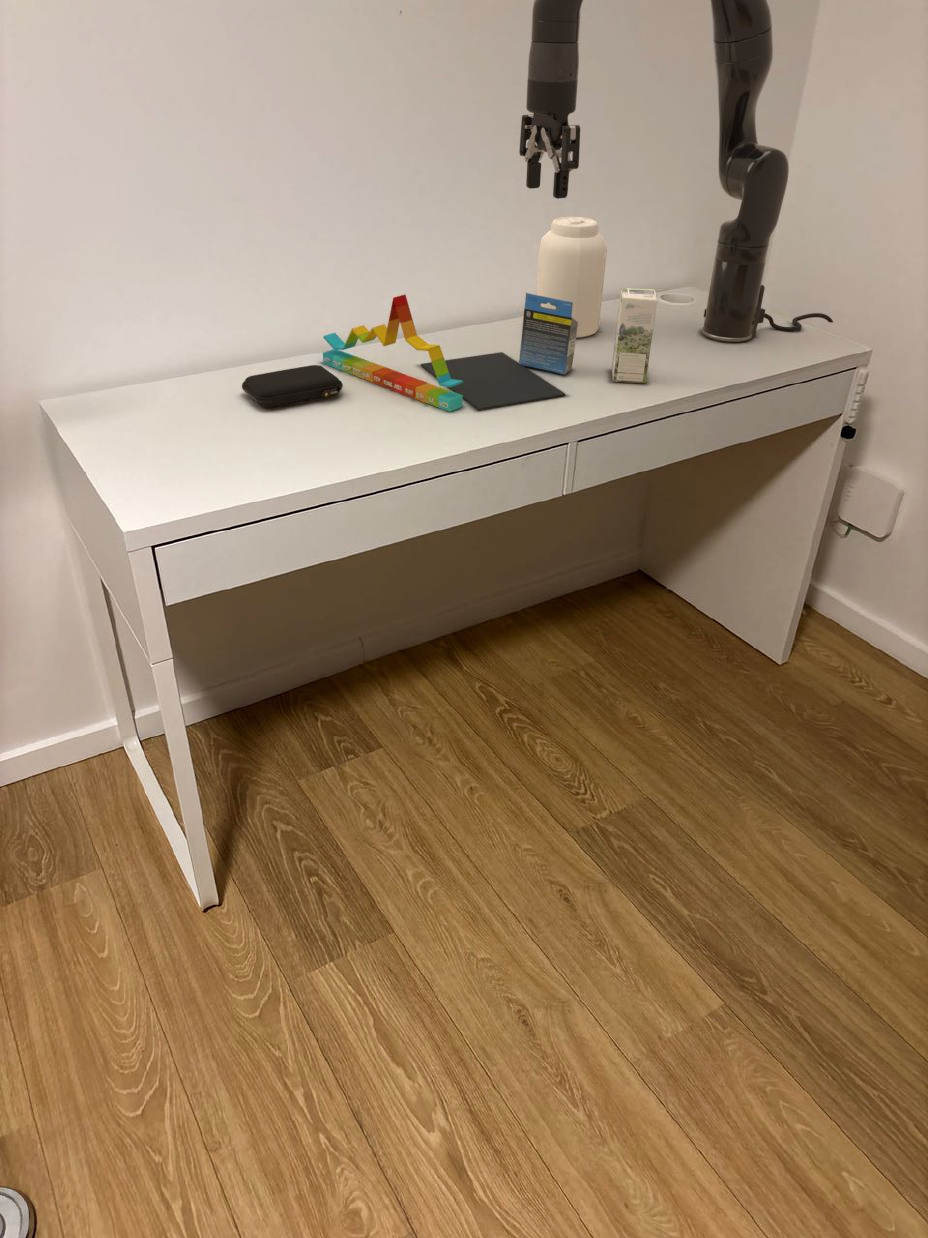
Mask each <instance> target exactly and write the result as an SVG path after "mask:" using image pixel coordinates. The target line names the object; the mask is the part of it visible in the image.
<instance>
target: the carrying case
mask: <svg viewBox="0 0 928 1238" xmlns="http://www.w3.org/2000/svg"><path fill="white" fill-rule="evenodd" d="M343 387H344V383H343V381H342V380H340V378H338V377H337V376H336V375H334V373H332V372H330V371H329V370H328V369H326V368H325V367H323V366H321V365H319V364H311V365H306V366H305V365H304V366H300V367H293V368H292V367H291V368H286V369H282V370H275V371H270V372H264V373H258V374H253V375H249V376H248V377H246V378H245V379H244V381H243V382H242V384H241V389H242V391H243V392H244V393H245V394H247V395H248V396H249V397H250V398H251V399H252V400H253V401H255V402H256V403H257V404H258V405H259V406H261V407H263V408H265V409H272V408H278V407H284V406H289V405H295V404H299V403H306V402H311V401H315V400H321V399H325V398H330V397H335V396H337V395H339V394H340V391H342V390H343Z"/></svg>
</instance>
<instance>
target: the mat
mask: <svg viewBox="0 0 928 1238" xmlns="http://www.w3.org/2000/svg"><path fill="white" fill-rule="evenodd" d="M444 360H445V363H446V366H447V369H448V372H449V374H450V377H451V379H454V380H461V381H463V383H461V384H459V385H456V386H453V387H448V388H449V389H450V391H452V392H455V393H458V394H460V395H463V401H465V402H466V403H468V404H469V405H470V406H471V407H473V408H474V409H476V410H477V411H484V410H485V411H486V410H491V409H496V408H503V407H508V406H514V405H521V404H527V403H532V402H538V401H543V400H549V399H555V398H562V397H566V393H565V392H564V391H562V390H561V389H559V388H557V387H556V386H554V385H553V384H551V383H549V382H548V381H547V380H545V379H544V378H542V377H541V376H539V375H538V374H536V373H535V372H533V371H531V370H530V369H528V368H527V367H526V366H524V365H519V361H516V360H514V359H513V358H511V356H508V354H505V353H504V352H503V351H500V352H494V353H488V354H487V353H486V354H480V355H473V356H466V357H460V358H459V357H458V358H452V359H444ZM420 366H421V368H423V369H424V370H425V371H427V372H428V373H429V374H431V375H432V376H433V377H434V378H436V379H437V377H436V374H435V371H434V368H433V365H432V362H425V363H421V364H420Z"/></svg>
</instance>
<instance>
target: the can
mask: <svg viewBox="0 0 928 1238" xmlns="http://www.w3.org/2000/svg"><path fill="white" fill-rule="evenodd" d="M599 230H600V229H599V224H598V222H597V220H594V219H593V218H589V217H585V216H574V215H573V216H571V215H569V216H562V217H556V218H555V219H553V220H552V222H551V225H550V229H549V231H547V232H545V234H544V235H543V236H542V237H541V240H540V243H539V249H538V261H537V262H538V263H537V279H536V294H535V295H538V296H543V297H549V298H553V299H558V300H563V301H568V302H573V307H572V318H573V319H574V320H576V321H577V322H578V326H577V334H576V339H577V338H579V339H580V338H586V337H590V336H592V335H594V334H596V333H597V332H598V331H599V329H600V322H601V313H602V305H603V304H602V303H603V293H604V283H605V274H606V273H605V272H606V265H607V264H606V262H607V256H608V255H607V254H608V250H607V248H608V247H607V243H606V242H607V241H606V239H605V238H604V236H602V234H601V233H600V232H599ZM541 307H545V308H550V309H556V306H553V305H551V304H550V303H547V304H543V303H541Z"/></svg>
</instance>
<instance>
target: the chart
mask: <svg viewBox="0 0 928 1238" xmlns="http://www.w3.org/2000/svg"><path fill="white" fill-rule="evenodd" d="M391 302H392V303H391V305H390V306H391V307H390V310H389V311H390V312H389V316H388V322H387V325H386V324H385V323H383V324H380V325H377V326H373V327H371V329H370V330H369V329H368V328H367V327H366V326H365V325H363V324H362V325H360V326H356V327H353V328H351V330H350V332H349V334H348V336H347V338H346V340H345V342H344V341H343V340H342V339H341V338H340V336H339V335H338V334H337V333H336V332H332V333H329V334H325V335H323V339H324V340H325V341H326V342H327V344H328V346H330V347H331V348H332V349H330V350H326V351H324V352H322V361H323V363H322V364H324V365H327V366H329V367H332V368H333V369H337V370H339V371H342V372H344V373H347V374H350V375H351V376H352V375H353V376H354V377H355V376H356V377H357V378H359V379H363V380H366V381H367V382H371V383H372V384H375V385H378V386H381V387H383V388H386V389H389V390H391V391H393V392H396V393H399V394H402V395H404V396H407V397H410V398H412V399H415V400H417V401H420V402H422V403H425V404H428V405H430V406H433V407H436V408H438V409H441V410H443V411H447V412H450V413H451V412H452V411H456V410H458V409H461V408H463V402H464V399H463V395H460V394H458V393H455V392H454V391H453V390H449V389H446V388H444V387H447V388H449V387H453V386H456V385H459V384H461V383H463V381H461V380H454V379H451V377H450V374H449V372H448V369H447V366H446V363H445V360H446V359H445V357H444V354H443V351H442V348H441V344H432V343H428V342H426V341H425V340H424V339H423V338H422V337H420V336H419V335H418V333H417V330H416V326H415V323H414V319H413V316H412V312H411V309H410V306H409V302H408V297H407V295H406V293H405V294H401V295H398V296H394V297H393V298H392V301H391ZM400 327H401V330H402V334H403V338H404V341H405V342H406V343H407V344H408V345H409V346H411V347H412V348H413V349H415V351H421V352H427V353H428V356H429V359H430V361H431V362H432V365H433V368H434V371H435V374H436V377H437V378H436V377H435V378H436V379H437V382H438V385H439V386H438V385H436V384H433V383H429V382H427V381H424V380H421V379H419V378H416V377H414V376H410V375H409V374H405V373H402V372H400V371H397V370H395V369H391V368H388V367H387V366H383V365H380V364H378V363H376V362H373V361H370V360H367V359H365V358H362V357H359V356H358V355H357V356H356V355H354V354H351V353H348V352H346V351H344V350H347V349H351V348H354V347H356V345H357V343H358V340H359V341H360V342H361V343H362V344H364V343H368V342H371V341H374V340H375V339H376V338H377V339H378V340H379V342H380V343H381V345H382V346H383V347H387V346H390V345H394V344H396V342H397V339H398V334H399V328H400ZM431 362H430V363H431Z"/></svg>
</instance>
